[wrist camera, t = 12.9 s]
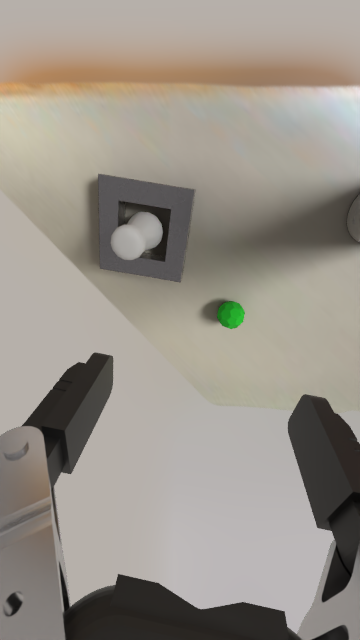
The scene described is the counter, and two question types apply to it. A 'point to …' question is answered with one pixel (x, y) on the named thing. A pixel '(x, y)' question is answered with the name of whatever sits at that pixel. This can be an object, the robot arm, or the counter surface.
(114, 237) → the salt shaker
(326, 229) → the counter surface
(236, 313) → the polyhedron
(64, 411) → the robot arm
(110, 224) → the collar
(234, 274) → the counter surface
